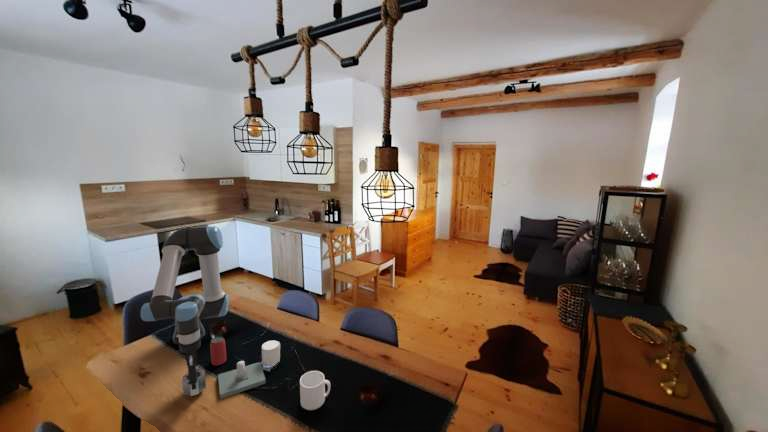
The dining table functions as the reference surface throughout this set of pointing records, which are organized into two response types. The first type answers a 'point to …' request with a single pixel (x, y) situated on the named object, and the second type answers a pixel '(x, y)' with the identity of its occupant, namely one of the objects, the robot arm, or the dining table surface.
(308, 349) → the dining table surface
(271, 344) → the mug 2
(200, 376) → the ring
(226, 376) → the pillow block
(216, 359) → the beer can
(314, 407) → the mug
